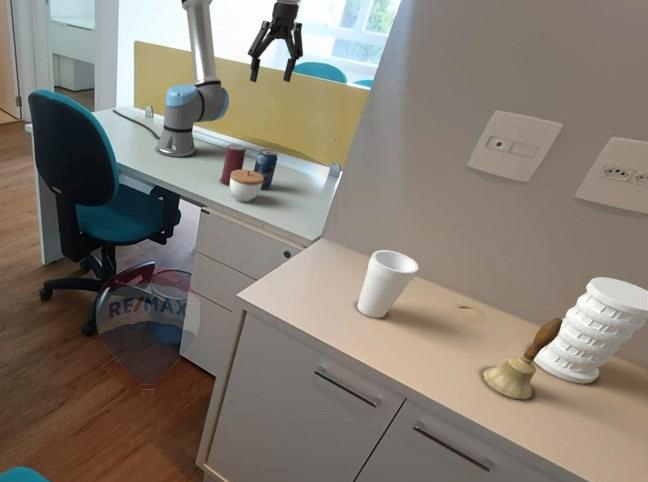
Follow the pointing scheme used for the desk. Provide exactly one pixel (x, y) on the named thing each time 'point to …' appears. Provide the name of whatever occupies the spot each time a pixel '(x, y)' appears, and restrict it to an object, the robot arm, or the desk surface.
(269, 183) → the soda can
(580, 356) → the decorative container
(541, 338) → the hand bell
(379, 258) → the foam cup
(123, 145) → the desk surface
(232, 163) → the aluminium can
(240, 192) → the trinket box
